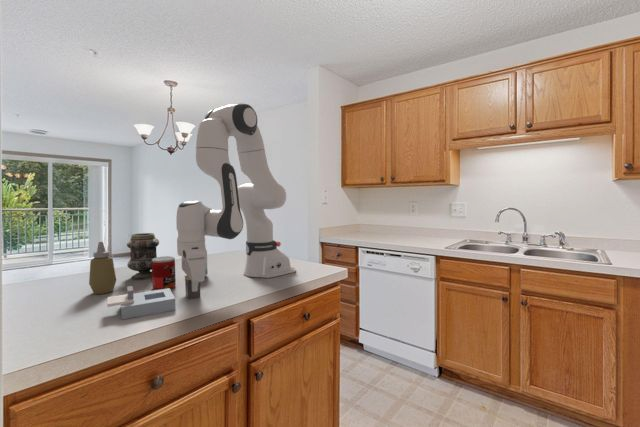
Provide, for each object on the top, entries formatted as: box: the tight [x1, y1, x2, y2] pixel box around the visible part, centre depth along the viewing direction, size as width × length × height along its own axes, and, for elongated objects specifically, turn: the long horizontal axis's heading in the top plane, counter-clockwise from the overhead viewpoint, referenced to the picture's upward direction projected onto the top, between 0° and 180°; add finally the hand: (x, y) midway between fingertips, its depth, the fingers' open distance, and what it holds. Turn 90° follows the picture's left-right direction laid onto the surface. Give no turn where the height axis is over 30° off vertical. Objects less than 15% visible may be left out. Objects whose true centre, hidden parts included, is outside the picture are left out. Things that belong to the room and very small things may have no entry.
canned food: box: [151, 255, 176, 291], centre depth 120 cm, size 8×8×11 cm
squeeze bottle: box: [88, 241, 117, 295], centre depth 115 cm, size 8×8×18 cm
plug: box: [184, 275, 201, 300], centre depth 110 cm, size 4×4×7 cm
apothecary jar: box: [126, 232, 160, 281], centre depth 135 cm, size 12×12×18 cm
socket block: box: [120, 288, 177, 321], centre depth 100 cm, size 14×12×4 cm
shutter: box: [106, 285, 134, 308], centre depth 96 cm, size 7×7×3 cm
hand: (192, 288), depth 111 cm, fingers open, 4 cm apart
